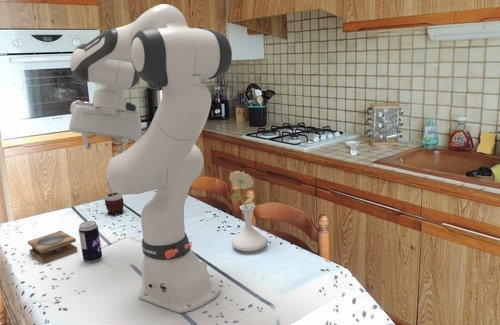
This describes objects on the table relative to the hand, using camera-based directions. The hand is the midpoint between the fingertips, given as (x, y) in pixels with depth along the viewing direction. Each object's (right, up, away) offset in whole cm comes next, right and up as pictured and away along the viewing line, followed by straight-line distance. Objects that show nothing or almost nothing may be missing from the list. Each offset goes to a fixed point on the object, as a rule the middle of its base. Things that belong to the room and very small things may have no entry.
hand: (104, 150), depth 132 cm
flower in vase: (+42, -31, +14) cm, 54 cm away
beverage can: (-7, -34, +10) cm, 36 cm away
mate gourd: (-12, -24, +50) cm, 57 cm away
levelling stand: (-22, -33, +16) cm, 43 cm away
